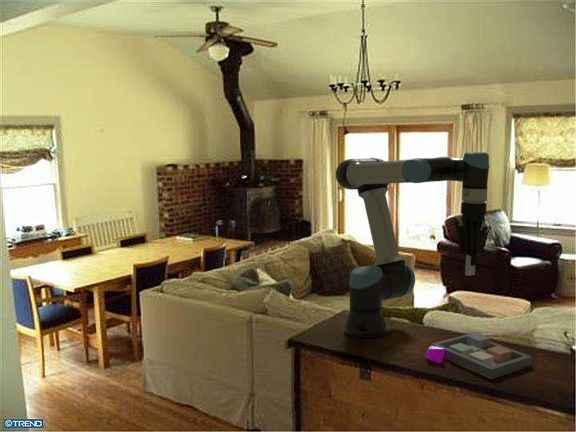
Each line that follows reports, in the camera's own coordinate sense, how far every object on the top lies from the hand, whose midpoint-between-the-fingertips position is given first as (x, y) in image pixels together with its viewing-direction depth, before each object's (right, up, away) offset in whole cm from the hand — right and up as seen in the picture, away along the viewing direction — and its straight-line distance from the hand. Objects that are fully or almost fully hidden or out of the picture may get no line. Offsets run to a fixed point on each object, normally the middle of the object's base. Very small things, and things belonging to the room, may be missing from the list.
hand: (469, 274), depth 174 cm
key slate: (+4, -23, +3) cm, 24 cm away
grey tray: (+3, -27, -2) cm, 27 cm away
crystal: (-12, -27, -2) cm, 30 cm away
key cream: (+1, -26, -7) cm, 27 cm away
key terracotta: (+8, -26, -3) cm, 27 cm away
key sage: (-3, -25, 0) cm, 26 cm away
